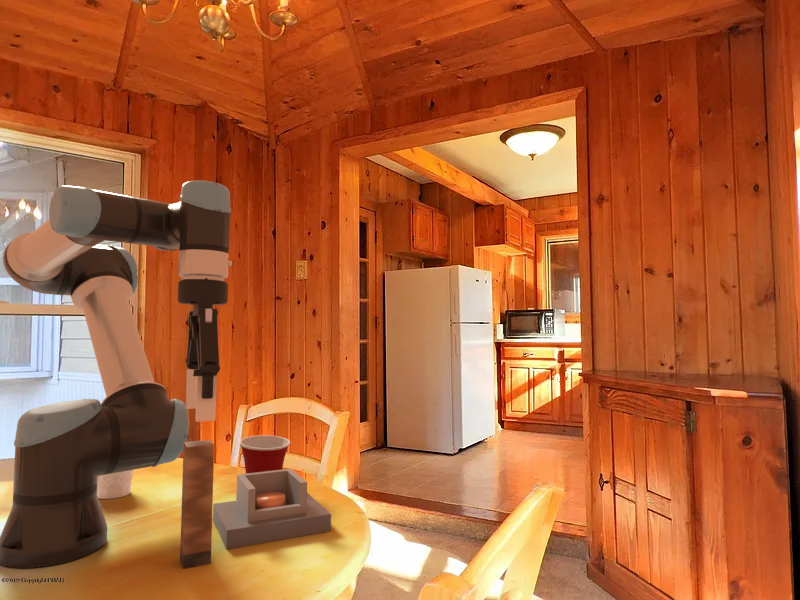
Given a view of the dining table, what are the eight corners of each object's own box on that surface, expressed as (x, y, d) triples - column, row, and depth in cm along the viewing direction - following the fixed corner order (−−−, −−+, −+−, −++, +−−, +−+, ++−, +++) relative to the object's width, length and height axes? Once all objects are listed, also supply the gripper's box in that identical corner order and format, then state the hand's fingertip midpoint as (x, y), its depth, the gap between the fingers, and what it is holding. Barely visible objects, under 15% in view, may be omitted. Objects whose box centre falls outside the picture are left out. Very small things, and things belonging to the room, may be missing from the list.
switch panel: (226, 549, 88) (227, 496, 88) (212, 519, 101) (214, 474, 101) (330, 531, 96) (331, 482, 96) (305, 506, 109) (306, 463, 110)
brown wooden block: (182, 568, 80) (186, 447, 81) (180, 558, 84) (183, 442, 85) (210, 563, 82) (214, 444, 83) (206, 553, 86) (210, 439, 87)
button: (259, 513, 95) (259, 502, 95) (253, 505, 100) (253, 494, 100) (288, 509, 97) (288, 498, 97) (281, 501, 102) (281, 490, 102)
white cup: (140, 489, 119) (142, 444, 120) (118, 501, 111) (120, 452, 112) (107, 488, 120) (109, 443, 121) (83, 499, 112) (85, 451, 113)
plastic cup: (256, 507, 108) (258, 447, 109) (227, 496, 115) (229, 439, 116) (299, 495, 116) (300, 439, 117) (270, 485, 123) (271, 432, 124)
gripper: (243, 274, 76) (239, 425, 75) (216, 286, 98) (212, 402, 97) (186, 271, 73) (181, 429, 72) (171, 284, 95) (167, 405, 94)
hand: (199, 414), depth 84 cm, fingers open, 13 cm apart
